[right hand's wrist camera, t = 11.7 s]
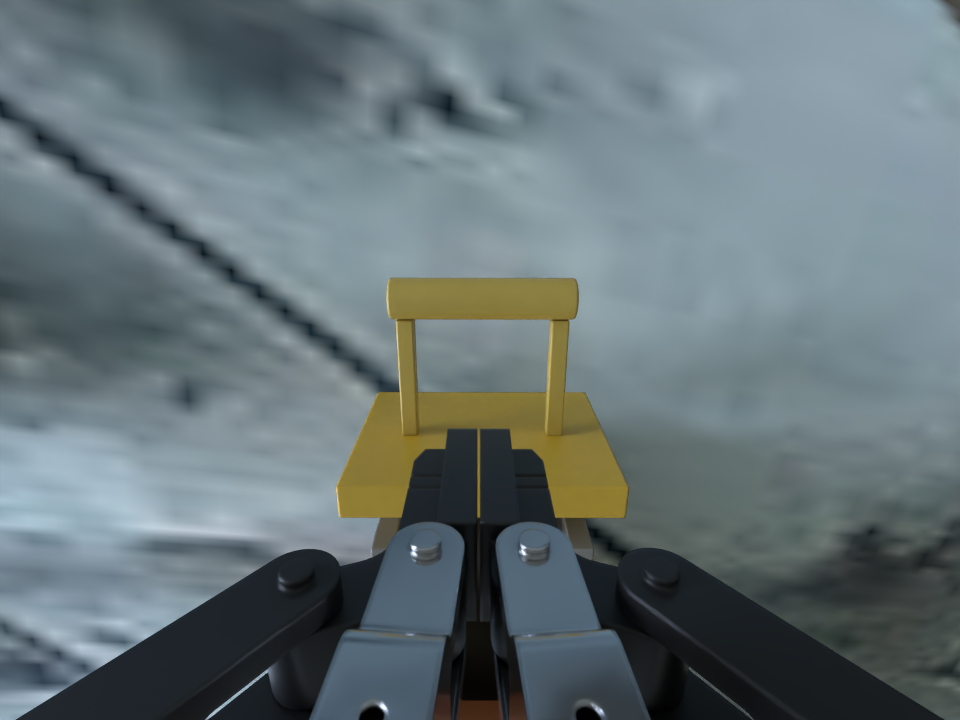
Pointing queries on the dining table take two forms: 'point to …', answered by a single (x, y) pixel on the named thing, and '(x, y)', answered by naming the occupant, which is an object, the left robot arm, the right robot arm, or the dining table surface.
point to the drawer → (529, 415)
